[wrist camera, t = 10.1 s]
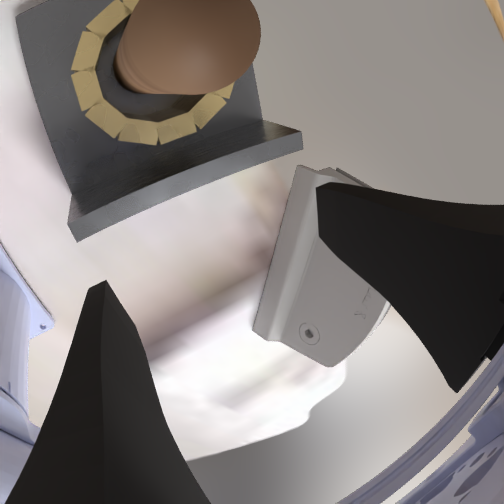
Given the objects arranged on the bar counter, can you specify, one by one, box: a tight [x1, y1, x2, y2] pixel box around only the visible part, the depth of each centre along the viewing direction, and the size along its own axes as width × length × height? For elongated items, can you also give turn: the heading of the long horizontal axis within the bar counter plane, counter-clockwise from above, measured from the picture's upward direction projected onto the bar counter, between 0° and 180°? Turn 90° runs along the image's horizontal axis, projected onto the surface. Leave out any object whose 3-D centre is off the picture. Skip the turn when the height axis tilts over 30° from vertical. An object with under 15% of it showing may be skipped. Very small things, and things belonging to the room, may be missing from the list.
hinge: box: [252, 165, 391, 367], centre depth 24 cm, size 17×5×10 cm, turn 165°
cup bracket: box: [16, 0, 303, 242], centre depth 12 cm, size 12×12×5 cm
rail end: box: [113, 0, 261, 95], centre depth 9 cm, size 4×4×9 cm
